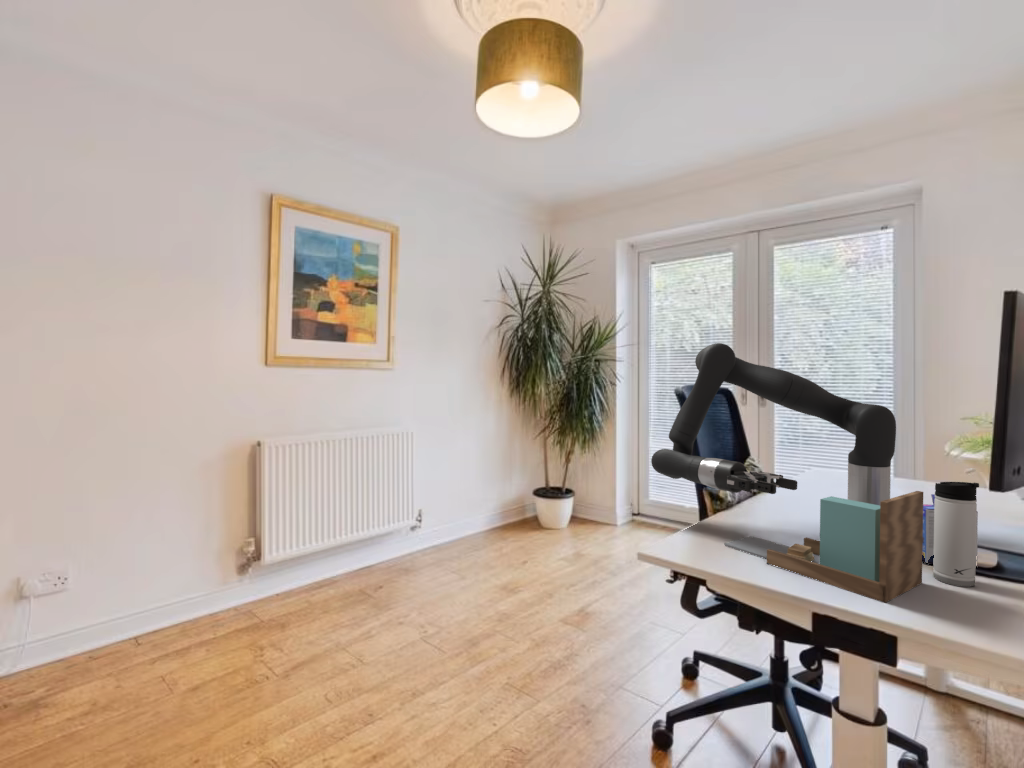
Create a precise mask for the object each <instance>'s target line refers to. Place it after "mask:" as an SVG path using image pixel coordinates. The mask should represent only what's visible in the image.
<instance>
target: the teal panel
mask: <svg viewBox="0 0 1024 768" xmlns="http://www.w3.org/2000/svg"><path fill="white" fill-rule="evenodd" d="M819 506H820V508H819V509H820V510H819V512H820V513H819V541H820V555H819V564H821V565H824V566H827V567H831V568H834V569H837V570H841V571H844V572H847V573H850V574H854V575H857V576H860V577H864V578H867V579H870V580H874V581H877V582H879V568H880V505H874V504H869V503H864V502H859V501H853V500H848V498H842V497H837V496H828V497H823V498H820V504H819Z"/></svg>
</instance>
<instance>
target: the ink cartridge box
mask: <svg viewBox="0 0 1024 768" xmlns="http://www.w3.org/2000/svg"><path fill="white" fill-rule="evenodd" d="M930 496H931V499H932V504H924V503H923V548H922V555H923V556H924V558H925V562H926V563H928V560H929V559H930V557H931V556H933V555H934V499H935V493H934V494H933V493H932V494H930ZM978 515H979V513H978V511H977V512H976V556H977V555H978V526H979V525H978V524H979V523H978V517H979V516H978ZM977 557H978V556H977Z"/></svg>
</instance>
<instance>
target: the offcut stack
mask: <svg viewBox="0 0 1024 768" xmlns="http://www.w3.org/2000/svg"><path fill="white" fill-rule="evenodd" d="M788 547H789V548H788V553H787V554H788V555H791V556H794V557H798V558H801V559H804V560H808V561H812V560H813V561H814V560H815V556H814V554H813V552H811V547H808V546H804V544H798V543H794V544H793V545H791V546H788ZM813 561H812V562H813Z"/></svg>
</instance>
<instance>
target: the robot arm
mask: <svg viewBox="0 0 1024 768" xmlns="http://www.w3.org/2000/svg"><path fill="white" fill-rule="evenodd" d="M694 362H695V366H696V367H695V368H696V369H697V370H698V374H697V377H696V379H695V382H694V384H693V387H692V389H691V390H690V393H689V395H688V396H687V398H686V399H685V401H684V403H683V404H682V406H681V407H680V409H679V411H678V413H677V414H676V417H675V419H674V421H673V423H672V425H671V428H670V431H669V433H668V438H669V440H670V441H671V442H672V443H673V444H672V445H673V446H672V449H670V448H662V449H659V450H657V451H655V452H654V453H653V454H652V456H651V461H650V462H651V467H652V468H653V470H655V472H657V473H658V474H661V475H663V476H665V477H668V478H670V479H674V480H679V479H684V480H687V481H690V482H692V483H694V484H695V483H696V484H700V485H704V486H707V487H709V488H712V489H716V490H722V491H726V492H731V493H734V494H738V493H740V492H742V491H743V492H746V493H749V492H750V493H751V492H754V493H757V492H760V493H761V492H762V493H765V494H769V495H770V494H771V495H775V494H776V493H777V488H782V489H785V490H792V491H795V490H797V489H798V481H797V480H796V479H790V478H785V477H784V475H783V474H777V473H772V472H771V473H770V472H766V471H756V470H749V471H748V470H747V468H746V466H745V465H744V463H742V462H740V461H734V460H728V459H724V458H716V457H705V456H699V455H693V451H694V450H693V449H694V443H695V441H696V439H697V437H698V436H699V435H698V434H699V432H700V430H701V428H702V425H703V424H704V421H705V418H706V417H707V413H708V411H709V409H710V407H711V405H712V403H713V401H714V400H715V399H714V398H715V397H716V395H717V393H718V391H719V390H720V388H721V386H722V385H723V383H728V384H731V385H733V386H737V387H740V388H742V389H744V390H745V391H748V392H750V393H752V394H754V395H755V396H758V397H761V398H763V399H765V400H767V401H770V402H771V403H775V404H777V405H779V406H781V407H783V408H787V409H789V410H791V411H792V410H793V411H795V412H799V413H801V414H804V415H808V416H812V417H815V418H818V419H822V420H824V421H826V422H829V423H830V424H832V425H835V426H837V427H839V428H841V429H842V430H844V431H846V432H848V433H850V434H851V435H853V436H855V440H854V441H855V442H854V448H853V449H852V450H851V451H849V452H848V457H847V462H848V463H847V499H848V500H853V501H859V502H864V503H869V504H874V505H880V503H881V501H884V500H887V499H891V467H892V465H891V463H892V460H893V457H894V456H895V451H896V441H897V440H896V438H897V437H896V436H897V423H896V417H895V415H894V412H892V410H890V409H889V408H888V407H886V406H883V405H880V404H875V403H874V404H873V403H864V402H859V401H854V400H851V399H848V398H844V397H842V396H839V395H836V394H833V393H831V392H829V391H828V390H826V389H825V388H824V387H821V386H820V385H819V384H817V383H816V382H813V381H812V380H810V379H807V378H806V377H803V376H800V375H797V374H796V373H794V372H793V373H792V372H790V371H786V370H783V369H780V368H775V367H771V366H766V365H760V364H756V363H752V362H748V361H746V360H743V359H741V358H739V357H737V356H736V354H735V352H734V349H733V348H732V347H731V346H729V344H726V343H720V342H718V343H717V342H715V343H711V344H709V345H707V346H705V347H703V348H702V349H700V350H699V352H698V353H697V354H696V356H695V361H694ZM774 480H775V481H774Z"/></svg>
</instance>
